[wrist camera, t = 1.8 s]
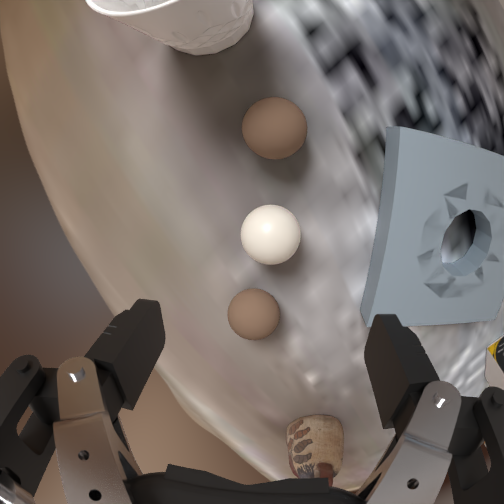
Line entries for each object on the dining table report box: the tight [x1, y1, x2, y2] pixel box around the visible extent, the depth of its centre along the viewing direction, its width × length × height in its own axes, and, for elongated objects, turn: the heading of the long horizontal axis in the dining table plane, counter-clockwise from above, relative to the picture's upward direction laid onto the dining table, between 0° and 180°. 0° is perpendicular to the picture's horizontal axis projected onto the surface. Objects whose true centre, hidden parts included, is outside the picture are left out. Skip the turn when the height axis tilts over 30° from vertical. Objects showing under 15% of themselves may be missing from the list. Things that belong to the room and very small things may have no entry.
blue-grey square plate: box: [360, 127, 504, 327], centre depth 18 cm, size 15×15×2 cm
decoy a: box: [242, 97, 307, 159], centre depth 16 cm, size 4×4×4 cm
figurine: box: [286, 415, 344, 487], centre depth 25 cm, size 7×7×12 cm
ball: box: [241, 205, 301, 265], centre depth 19 cm, size 4×4×4 cm
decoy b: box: [228, 289, 280, 340], centre depth 22 cm, size 4×4×4 cm
